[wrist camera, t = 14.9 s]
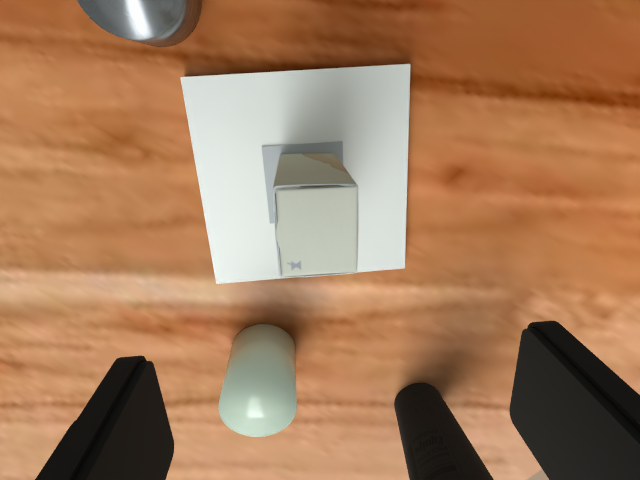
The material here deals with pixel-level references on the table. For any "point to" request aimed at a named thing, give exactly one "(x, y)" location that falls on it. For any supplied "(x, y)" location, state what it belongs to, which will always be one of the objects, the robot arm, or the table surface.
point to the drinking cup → (434, 438)
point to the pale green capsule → (260, 382)
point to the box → (315, 216)
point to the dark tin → (146, 19)
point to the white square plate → (292, 138)
